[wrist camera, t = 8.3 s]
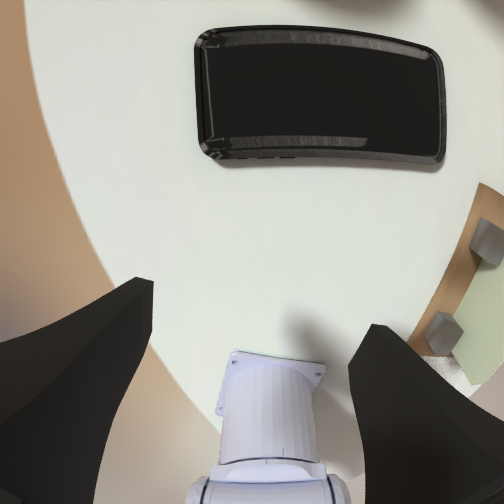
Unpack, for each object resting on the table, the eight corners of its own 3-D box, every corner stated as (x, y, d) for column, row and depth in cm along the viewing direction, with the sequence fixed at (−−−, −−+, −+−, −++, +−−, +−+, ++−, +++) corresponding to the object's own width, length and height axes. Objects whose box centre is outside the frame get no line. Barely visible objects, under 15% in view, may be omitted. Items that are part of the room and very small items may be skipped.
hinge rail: (453, 350, 22) (468, 374, 19) (403, 347, 21) (417, 375, 18) (522, 210, 16) (548, 225, 12) (479, 182, 15) (510, 195, 12)
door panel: (454, 337, 20) (485, 383, 14) (440, 335, 20) (471, 385, 14) (506, 235, 16) (554, 269, 10) (494, 228, 16) (545, 264, 10)
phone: (193, 31, 12) (441, 51, 11) (197, 36, 13) (433, 53, 12) (199, 162, 15) (445, 168, 14) (203, 160, 16) (436, 165, 15)
